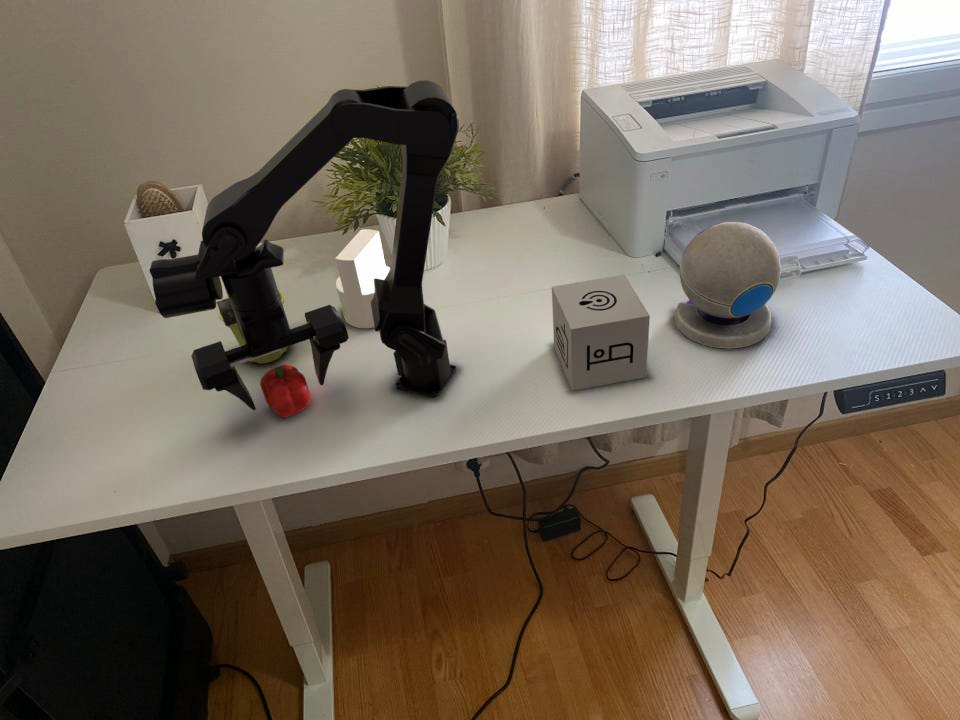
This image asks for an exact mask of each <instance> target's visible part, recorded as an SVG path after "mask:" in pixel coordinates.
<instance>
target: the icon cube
mask: <svg viewBox="0 0 960 720" xmlns="http://www.w3.org/2000/svg"><path fill="white" fill-rule="evenodd" d="M551 300H552V302H551V303H552V328H553V347H554V350H555V352H556V354H557V357H558V360H559V362H560V364H561V367H562V369H563V372H564V374H565V376H566V379H567V381H568V383H569V386H570V388H571V391H577V390H578V391H579V390H585V389H588V388H589V389H590V388H595V387H600V386H607V385H612V384H617V383H622V382H623V383H624V382H628V381H634V380H640V379H645V378H647V368H648V367H647V366H648V351H649V349H648V348H649V337H650V336H649V335H650V320H651V319H650V318H651V315H650V314H649V312H648V310H647V308H646V307H645V305H644V304H643V302H642V301H641V299H640V297H639V296H638V294H637V292H636V291H635V289H634V287H633V286H632V284H631V282H630V281H629V279H628V277H627V276H626V275H625V274H619V275H618V274H617V275H612V276H607V277H600V278H595V279H588V280H582V281H576V282H571V283H564V284H559V285H553V286H551Z"/></svg>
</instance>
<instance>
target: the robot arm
mask: <svg viewBox="0 0 960 720" xmlns="http://www.w3.org/2000/svg"><path fill="white" fill-rule="evenodd" d="M459 128H460V120H459V116H458V113H457V111H456V109H455V107H454V105H453V103H452V101H451V100H450V98H449V96H448V94H447V93H446V91H445V90H444V88H443V87H442V86H441V85H439V84H438V83H436V82H434V81H430V80H425V79H424V80H417V81H415V82H412V83H410V84H409V85H408V86H403V85H401V86H400V85H399V86H398V85H384V86H379V87H372V88H366V89H365V88H364V89H356V88H355V89H351V88H343V89H339V90H337V91H335V92H334V93H332V95H331V96H330V97H329V99H328V101H327V103H326V104H325V105H324V106H323V107H322V108H321V109H319V111H318V112H317V113H316V114H315V115H314V116H313V117H311V119H309V120H308V121H307V123H305V125H303V127H301V129H300V130H299V131H298V132H296V133H295V135H294V136H292V137H291V138H290V139H289V141H287V143H285V144H284V145H283V146H282V147H281V148H280V149H279V150H278V151H277V152H276V153H275V154H274V155H273V156H272V157H271V158H270V159H269V160H268V161H267V162H266V163H265V164H264V165H263V166H262V167H261V168H260V169H259V170H257V171H256V172H255V173H253V174H252V175H251V176H249V177H247V178H244V179H242V180H238V181H237V182H235V183H233V184H231V185H230V186H229V187H227V188H225V189H224V190H223V191H221V192H219V193H218V194H217V195H215V196H214V197H212V198H211V200H210V201H209V203H208V204H207V207H206V210H205V215H204V219H203V223H202V224H203V225H202V231H201V238H202V240H200V242H199V243H200V244H199V248H198V252H197V253H198V254H193V255H187V256H181V257H175V258H168V259H167V258H162V259H161V258H160V259H156V260H152V261H151V264H150V267H149V271H148V272H149V274H150V276H151V279H152V287H153V288H152V290H153V294H154V297H155V300H154V304H155V306H156V308H157V311H158V312H159V315H161V317H163V318H164V319H170V318H174V317H180V316H185V315H190V314H191V315H192V314H197V313H201V312H208V311H213V310H215V309H216V308H218V307H219V310H220V313H221V315H222V318H223V320H224V322H223V323H224V325H225V327H228V326H230V325H233V324H236V323H237V325H238V328H239V331H240V333H241V336H242V338H243V339H244V341H245V344H246V345H243V346H240V345H239V346H237V347H234V348H231V349H229V350H226V351H225V348H224V345H223V343H222V340H221V341H220V340H219V341H217V342H213V343H211V344H208V345H205V346H202V347H199V348H196V349H193V350H192V354H191V360H192V363H193V367H194V369H195V373H196V375H197V379H198V381H199V383H200V385H201V387H202V390H204V391H211V390H215V391H216V392H223V391H226V392H227V393H229V394H231V395H233V396H235V397H236V398H238V399H239V400H241V401H242V402H243V403H244V404H245V405H246V406H247V407H248V408H250V409H251V410H252V411H256V410H257V408H256V405H255V402H254V399H253V397H252V395H251V393H250V391H249V390H248V388H247V386H246V384H245V383H244V381H243V379H242V377H241V375H240V374H239V373H238V370H237V368H236V366H239V365H243V364H245V363H248V362H251V360H254V359H257V358H260V357H263V356H266V355H269V354H271V353H274V352H277V351H280V350H282V348H285V347H288V348H289V347H291V346H293V345H296V344H299V343H302V342H305V341H307V340H309V344H310V348H311V355H312V359H313V366H314V372H315V376H316V379H317V381H318V384H319V385H320V386H324V384H325V380H326V376H327V372H328V368H329V365H330V363H331V360H332V357H333V356H334V353H335V351H338V350H340V349H341V344H344V343H347V341H349V339H350V337H349V333H348V329H347V326H346V322H344V321H345V320H344V319H343V318H342V316H341V315H340V313H339V312H338V310H337V308H336V307H335V306H333V305H331V304H326V305H324V306H320V307H318V308H316V309H313V310H309V311H305V313H304V318H305V321H306V323H302V324H299V325H297V326H294V327H290V324H289V320H288V318H287V314H286V311H285V308H284V303H283V304H282V301H281V298H280V295H279V292H278V290H279V288H278V285H277V282H276V279H275V276H274V272H273V269H272V268H277V267H281V266H283V265H284V256H285V255H284V251H285V249H284V248H283V246H281V245H278V244H276V243H272V242H271V241H269V240H268V239H264V237H265V236H266V234H267V232H268V231H269V229H270V227H271V225H272V224H273V222H274V220H275V218H276V217H277V215H278V213H279V212H280V210H281V208H283V207H284V205H285V204H286V203H287V202H288V201H290V200H291V199H292V198H293V197H294V196H295V195H296V194H297V193H298V192H299V191H300V190H301V189H302V188H303V187H305V185H306V184H307V183H308V182H309V181H310V180H312V179H313V177H315V176H316V175H317V174H318V173H319V172H320V171H321V170H322V169H323V168H324V167H325V166H326V165H327V164H328V163H330V161H332V159H334V157H335V156H337V155H338V154H339V152H341V151H342V150H343V149H344V148H345V147H346V146H347V145H348V144H349V143H350V142H351V141H352V140H353V139H369V140H373V141H377V142H382V143H386V144H387V143H388V144H392V145H399V146H400V148H401V159H402V167H401V177H400V185H399V193H398V200H397V201H398V202H397V209H396V210H397V211H396V219H395V225H394V227H395V228H394V234H393V235H394V236H393V242H392V243H393V244H392V252H391V258H390V259H391V261H390V266H389V267H390V271H389V273H388V275H387V276H386V278H385V280H381V279H376V278H374V287H375V293H374V297H373V299H372V301H371V308H372V314H373V320H374V327H375V328H374V331H375V332H379V337H380V341H381V343H382V344H383V345H384V346H385V347H387V348H389V349H391V350H393V351H394V352H393V357H394V363H395V368H396V371H397V375H398V377H399V379H397V381H396V382H395V384H394V387H395V388H396V389H398V390H402V391H406V392H410V393H414V394H418V395H421V396H426V397H430V398H437V397H439V396H440V394H441V393H442V391H443V390H444V388H445V387H446V386H447V384H448V383H449V382H450V380H451V379H452V378H453V376H454V375H455V374H456V372H457V366H456V365H454V364H451V363H450V357H449V350H448V344H447V340H446V339H444V338H443V334H442V330H441V327H440V322H439V321H438V320H439V319H438V316H437V312H436V310H435V309H434V308H432V307H431V306H429V305H427V304H425V301H424V291H423V280H424V273H425V267H426V266H425V265H426V261H427V260H426V259H427V252H428V248H429V247H428V246H429V240H430V234H431V226H432V221H433V220H432V219H433V214H434V212H433V211H434V206H435V200H436V193H437V186H438V180H439V177H440V174H441V173H442V171H443V170H444V168H445V166H446V165H447V163H448V161H449V159H450V157H451V154H452V151H453V147H454V145H455V142H456V139H457V136H458V133H459ZM263 239H264V240H263ZM262 240H263V241H262ZM261 241H262V243H261ZM260 243H261V244H260ZM259 244H260V245H259ZM258 245H259V246H258ZM222 283H223V285H222ZM223 286H224V289H225V292H226V294H227V297H229V298H227V297H226V298H227V299H226V298H224V299H223V297H224V293H223Z"/></svg>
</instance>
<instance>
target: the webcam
mask: <svg viewBox="0 0 960 720" xmlns="http://www.w3.org/2000/svg"><path fill="white" fill-rule="evenodd" d="M781 264H782V263H781V259H780V254H779V252H778V249H777V247H776V245H775V244H774V242H773V241H772V239H771V238H770V237H769V236H768V235H767V234H766V233H765V232H764V231H762V230H761V229H759V228H757V227H756V226H753V225H751V224H750V223H749V224H748V223H745V222H738V221H724V222H723V221H722V222H719V223H716V224H712V225H710V226H708V227H707V228H704V229H703V230H701V231H700V232H698V233H697V234H696V235H695V236H694V237H693V238H692V240H690V241H689V243H688V244H687V246H686V247H685V249H684V251H683V253H682V257H681V261H680V265H679V280H680V284H681V287H682V289H683V292H684V294H685V296H686V297H687V299H688V301H686V302H678V303H677V305H676V309H675V316H674V319H675V320H674V321H675V325H676V327H677V328H678V330H679V331H680V332H681V333H682V334H683V335H684V336H685V337H687V338H688V339H689V340H691V341H694V342H696V343H698V344H701V345H703V346H706V347H707V346H708V347H711V348H717V349H739V348H746V347H748V346H752V345H754V344H757V343H759V342H760V341H762V340H763V339H764V338H766V336H767V335H768V333H769V332H770V330H771V325H772V313H771V311H770V308H769V307H768V305H767V303H768V302H769V301H770V300H771V298H772V297H773V295H774V294H775V292H776V290H777V288H778V286H779V283H780V279H781V272H782V265H781Z"/></svg>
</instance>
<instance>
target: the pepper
mask: <svg viewBox="0 0 960 720" xmlns="http://www.w3.org/2000/svg"><path fill="white" fill-rule="evenodd" d="M259 381H260V384H259V385H260V387H261V391H262V394H263V397H264V399H265V402H266V404H267V406H268V407H269V408H271V409H272V410H273V412H274V413H275V414H276V415H277V416H279V417H282V418H288V417H291V416H293V415H296V414H298V413H300V412H301V411H303V410H304V409H305V408H307V407H308V406H309V405H310V402H311V393H310V389H309V386H308V383H307V380H306V377H305V375H304V374H303V373H302V372H300V371H299V369H298V368H297V367H295V366H293V365H291V364H289V363H283V364H280V365H278V366H275V367H273V368H271V369H269V370H268V371H267V372H266V373H264V374H263V375H262V377H261V378H260V380H259Z"/></svg>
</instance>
